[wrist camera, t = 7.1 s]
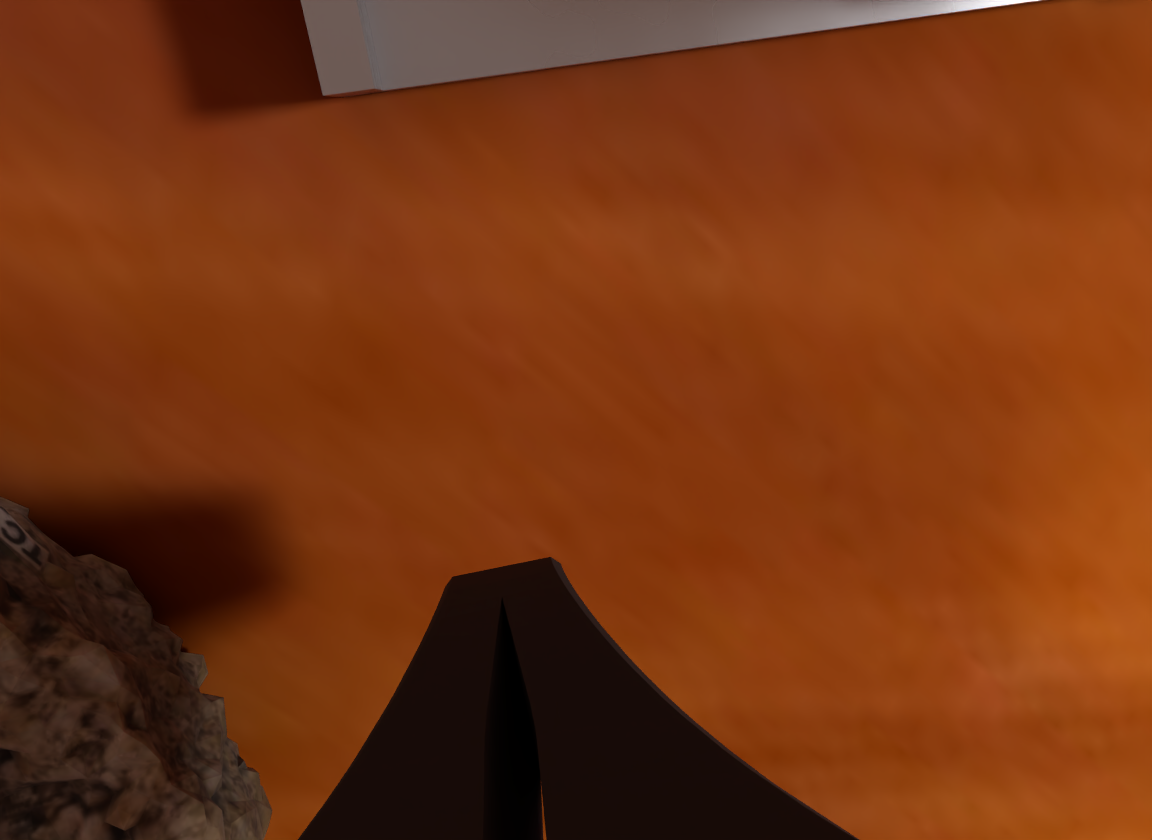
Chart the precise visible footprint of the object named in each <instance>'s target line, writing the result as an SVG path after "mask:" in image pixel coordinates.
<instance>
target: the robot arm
mask: <svg viewBox="0 0 1152 840" xmlns="http://www.w3.org/2000/svg"><path fill="white" fill-rule="evenodd" d="M541 786H542V795H543V806H544V817H545V828H546V838H547V840H859V839H857V838H856V837H854V836H853V835H851V834H850V833H848V832H847V831H845V830H844V829H842V828H841V827H839V826H838V825H836V824H835V823H833V822H831V821H830V820H828V819H827V818H825V817H824V816H822V815H821V814H819V813H818V812H816V811H815V810H813V809H812V808H810V807H809V806H807V805H806V804H804V803H803V802H801V801H800V800H798V799H797V798H795V797H794V796H792V795H790V794H789V793H787V792H786V791H784V790H783V789H781V788H780V787H778V786H777V785H775V784H774V783H772V782H771V781H770V780H768V779H767V778H766V777H764V776H763V775H762V774H760V773H759V772H758V771H756V770H755V769H754V768H752V767H751V766H750V765H748V764H747V763H746V762H744V761H743V760H742V759H740V758H739V757H738V756H736V755H735V754H734V753H733V752H731V751H730V750H729V749H727V748H726V747H725V746H724V745H723V744H721V743H720V742H719V741H718V740H716V739H715V738H714V737H713V736H712V735H710V734H709V733H708V732H707V731H706V730H704V729H703V728H702V727H701V726H699V725H698V724H697V723H696V722H695V721H694V720H693V719H691V718H690V717H689V716H688V715H687V714H686V713H685V712H684V711H682V710H681V709H680V708H679V707H678V706H677V705H676V704H675V703H674V702H673V701H672V700H671V699H669V698H668V697H667V696H666V695H665V694H664V693H663V692H662V691H661V690H660V689H659V688H658V687H657V686H656V685H655V684H654V683H653V682H652V681H651V680H650V679H649V678H648V677H647V676H646V675H645V674H644V673H643V672H642V671H641V670H640V669H639V668H638V667H637V666H636V665H635V664H634V662H633V661H632V660H631V659H630V658H629V657H628V656H627V655H626V654H625V653H624V652H623V650H622V649H621V648H620V647H619V646H618V645H617V643H616V642H615V641H614V640H613V639H612V638H611V636H610V635H609V634H608V633H607V632H606V631H605V630H604V628H603V627H602V626H601V625H600V624H599V622H598V621H597V620H596V619H595V617H594V616H593V615H592V613H591V612H590V611H589V609H588V608H587V607H586V605H585V604H584V603H583V601H582V600H581V598H580V597H579V596H578V594H577V593H576V591H575V590H574V588H573V587H572V585H571V583H570V582H569V580H568V578H567V576H566V575H565V573H564V571H563V569H562V566H561V564H560V563H559V562H557V561H556V560H554V559H553V558H551V557H548V558H543V559H538V560H533V561H528V562H523V563H518V564H513V565H508V566H503V567H498V568H494V569H489V570H484V571H479V572H474V573H469V574H464V575H459V576H454V577H452V578H451V580H450V581H449V582H448V584H447V585H446V586H445V589H444V592H443V594H442V597H441V599H440V601H439V604H438V606H437V609H436V611H435V613H434V615H433V618H432V620H431V622H430V624H429V627H428V629H427V631H426V633H425V635H424V637H423V639H422V641H421V643H420V645H419V647H418V649H417V651H416V653H415V655H414V657H413V659H412V661H411V663H410V665H409V667H408V668H407V670H406V672H405V674H404V676H403V678H402V680H401V682H400V684H399V686H398V687H397V689H396V691H395V693H394V695H393V697H392V698H391V700H390V702H389V704H388V705H387V707H386V709H385V710H384V712H383V714H382V715H381V717H380V719H379V720H378V722H377V723H376V725H375V727H374V728H373V730H372V732H371V733H370V735H369V737H368V738H367V740H366V742H365V743H364V745H363V746H362V748H361V750H360V751H359V753H358V755H357V756H356V758H355V759H354V761H353V762H352V764H351V766H350V767H349V769H348V770H347V772H346V773H345V774H344V776H343V777H342V779H341V780H340V782H339V783H338V785H337V786H336V788H335V789H334V791H333V792H332V794H331V795H330V796H329V798H328V799H327V801H326V802H325V804H324V805H323V806H322V808H321V809H320V810H319V812H318V813H317V814H316V816H315V817H314V818H313V820H312V821H311V823H310V824H309V825H308V827H307V828H306V829H305V831H304V832H303V833H302V835H301V836H300V837H299V839H298V840H543V823H542V798H541Z"/></svg>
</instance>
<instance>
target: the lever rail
mask: <svg viewBox="0 0 1152 840" xmlns="http://www.w3.org/2000/svg"><path fill="white" fill-rule="evenodd" d="M1040 1H1047V0H301V4H302V9H303V13H304V17H305V21H306V26H307V30H308V34H309V39H310V43H311V47H312V51H313V56H314V60H315V64H316V68H317V73H318V77H319V81H320V85H321V90H322V94H323V96H333V97H349V96H357V95H364V94H371V93H378V92H386V91H393V90H400V89H407V88H415V87H422V86H429V85H436V84H444V83H451V82H458V81H466V80H473V79H480V78H487V77H495V76H502V75H509V74H516V73H524V72H531V71H538V70H545V69H553V68H560V67H567V66H575V65H582V64H589V63H596V62H604V61H611V60H618V59H625V58H633V57H640V56H647V55H654V54H662V53H669V52H676V51H683V50H691V49H698V48H705V47H713V46H720V45H727V44H734V43H742V42H749V41H756V40H763V39H771V38H778V37H785V36H792V35H800V34H807V33H814V32H822V31H829V30H836V29H843V28H851V27H858V26H865V25H872V24H880V23H887V22H894V21H901V20H909V19H916V18H923V17H931V16H938V15H945V14H952V13H960V12H967V11H974V10H981V9H989V8H996V7H1003V6H1010V5H1018V4H1025V3H1032V2H1040Z"/></svg>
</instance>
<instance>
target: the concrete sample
mask: <svg viewBox="0 0 1152 840" xmlns="http://www.w3.org/2000/svg"><path fill="white" fill-rule="evenodd" d="M28 513H29V509H28V508H26V507H24V506H21V505H19V504H17V503H14V502H12V501H9V500H7V499H5V498H2V497H0V840H263V839H264V837H265V834H266V831H267V829H268V826H269V822H270V818H271V814H272V809H271V806H270V804H269V801H268V799H267V796H266V794H265V791H264V789H263V787H262V786H261V785H260V779H259V773H258V772H257V771H255V770H254V769H253V768H249V767H247V766H246V764H245V762H244V760H243V759H242V758H241V757H240V756H239V751H238V745H237V743H235V742H233V741H232V740H230V739H229V738H227V729H226V718H225V707H224V698H223V697H218V696H213V695H208V694H203V693H200V691H199V687H200V686H201V684H202V682H203V681H204V679H205V678H206V676H207V674H208V671H207V667H206V663H205V660H204V656H203V655H199V654H192V653H185V652H181V651H180V649H181V646H182V643H183V640H182V639H181V638H180V637H178V636H177V635H176V634H174V633H173V632H171V631H170V628H169V626H166V625H162V624H159V623H158V622H156V621H155V620H153V612H152V606H151V605H150V604H149V603H148V602H147V601H146V600H145V599H144V595H143V594H142V593H141V592H140V591H139V589H138V588H137V587H136V586H135V584H134V582H133V580H132V579H131V577H130V575H129V573H128V571H127V570H126V569H124V568H121V567H119V566H117V565H115V564H112V563H110V562H108V561H106V560H103V559H101V558H99V557H97V556H95V555H93V554H88V555H82V556H76V557H73V556H72V555H71V554H70V553H68V552H67V551H66V550H65V549H64V548H62V547H61V546H60V545H58V544H57V543H55V542H54V541H53V540H51V539H50V538H49V537H47V536H46V535H45V534H44V533H43V532H42V531H41V530H40V529H39V528H38V527H37V526H36V525H35V524H34V523H33V522H32V521H31V520H30V519H29V518H28Z"/></svg>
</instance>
